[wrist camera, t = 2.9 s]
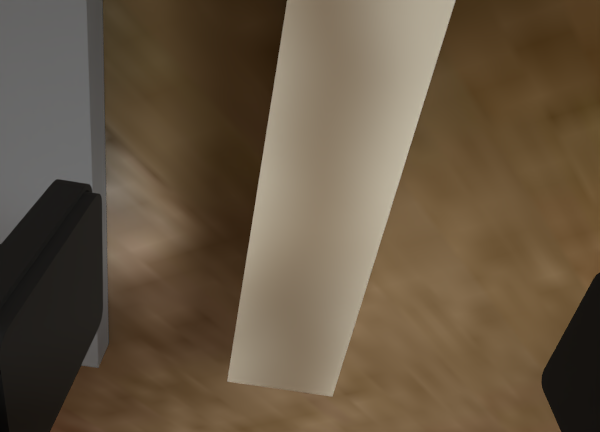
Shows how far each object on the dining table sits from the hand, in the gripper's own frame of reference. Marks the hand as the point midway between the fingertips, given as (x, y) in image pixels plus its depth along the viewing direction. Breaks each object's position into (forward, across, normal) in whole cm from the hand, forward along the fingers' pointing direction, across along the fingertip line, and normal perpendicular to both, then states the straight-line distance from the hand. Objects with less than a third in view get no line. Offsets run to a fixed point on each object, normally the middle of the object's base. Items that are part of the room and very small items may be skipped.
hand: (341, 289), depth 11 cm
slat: (+11, 0, -1) cm, 11 cm away
